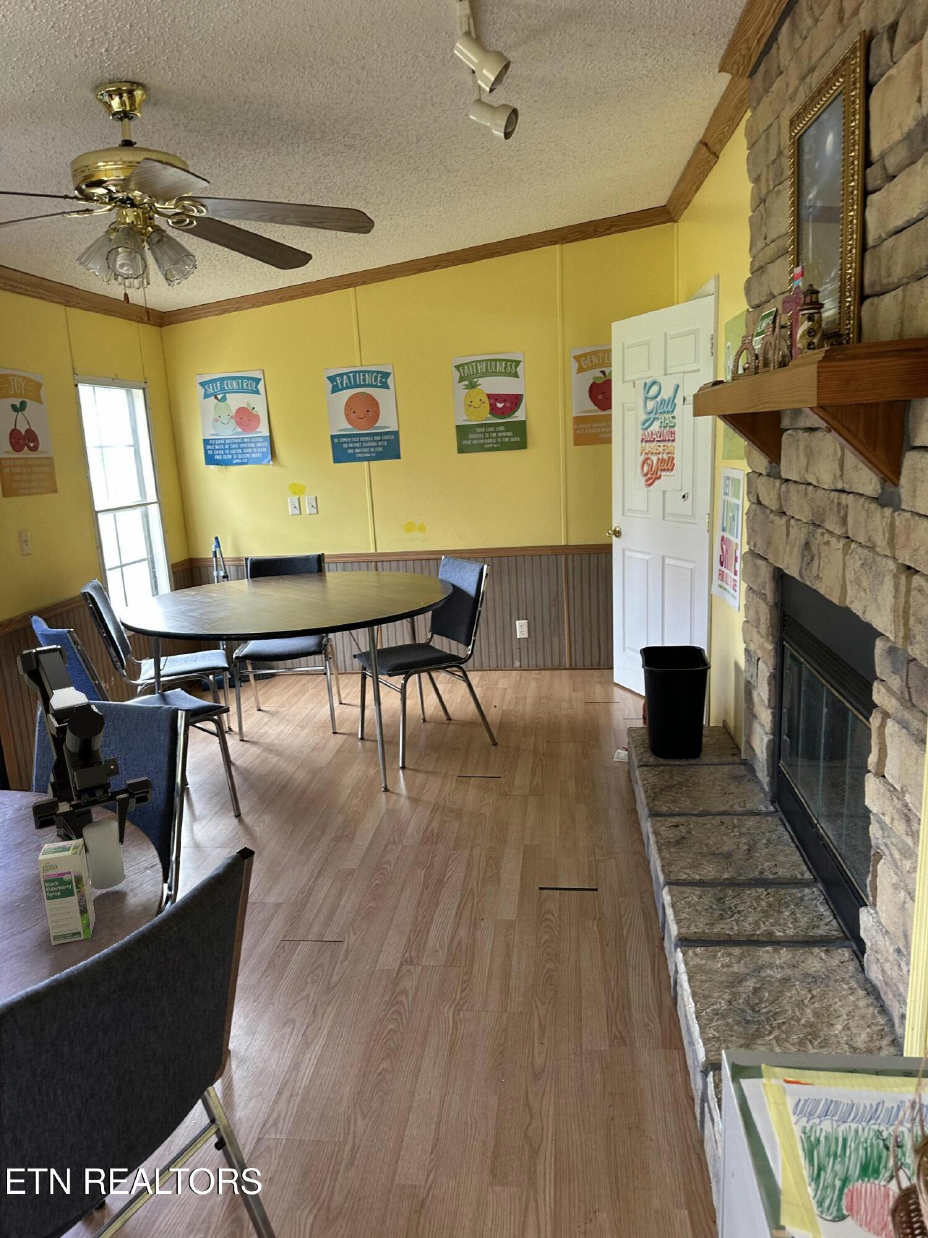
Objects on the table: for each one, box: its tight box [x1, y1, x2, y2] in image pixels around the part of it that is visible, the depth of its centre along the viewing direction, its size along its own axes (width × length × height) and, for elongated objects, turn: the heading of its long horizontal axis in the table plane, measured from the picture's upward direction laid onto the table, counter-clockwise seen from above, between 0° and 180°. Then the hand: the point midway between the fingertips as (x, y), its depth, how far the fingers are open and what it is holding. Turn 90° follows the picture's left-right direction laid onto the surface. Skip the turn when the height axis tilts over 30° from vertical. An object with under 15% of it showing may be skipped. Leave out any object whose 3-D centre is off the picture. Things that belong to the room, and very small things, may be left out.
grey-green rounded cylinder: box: [83, 818, 126, 890], centre depth 142 cm, size 5×5×10 cm
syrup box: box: [37, 837, 96, 946], centre depth 130 cm, size 6×6×14 cm
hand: (104, 848), depth 140 cm, fingers closed on grey-green rounded cylinder, 5 cm apart
